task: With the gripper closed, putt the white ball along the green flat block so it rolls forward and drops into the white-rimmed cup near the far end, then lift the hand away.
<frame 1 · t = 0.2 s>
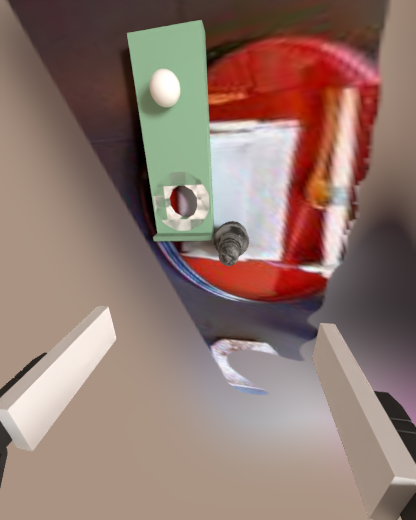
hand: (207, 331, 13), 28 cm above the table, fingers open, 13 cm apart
dark grey figurine: (232, 235, 39), on the table
ball: (165, 88, 28), point 4 cm above the table, touching green flat block
green flat block: (180, 150, 35), on the table
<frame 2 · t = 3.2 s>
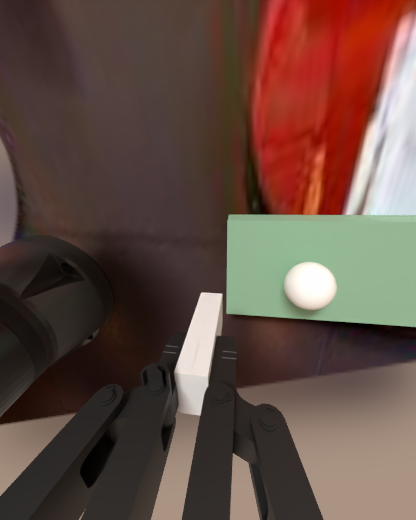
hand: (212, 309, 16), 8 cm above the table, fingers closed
ball: (309, 285, 18), point 4 cm above the table, touching green flat block
green flat block: (371, 266, 21), on the table
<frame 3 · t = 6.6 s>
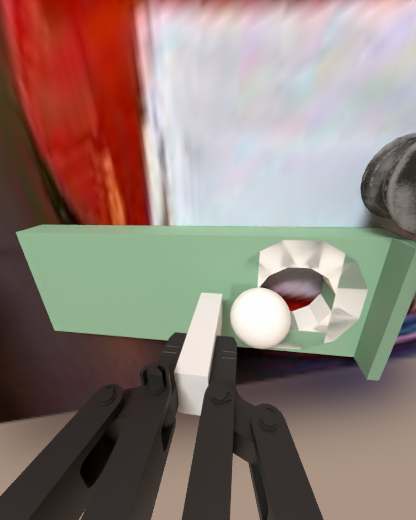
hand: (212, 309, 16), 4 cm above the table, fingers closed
dark grey figurine: (403, 178, 14), on the table
ball: (259, 317, 15), point 4 cm above the table, tilted 8°, touching green flat block
green flat block: (195, 280, 19), on the table
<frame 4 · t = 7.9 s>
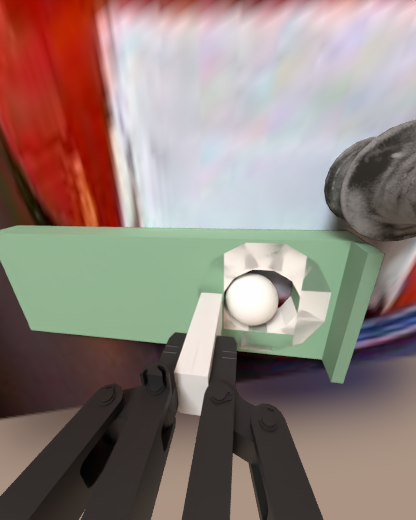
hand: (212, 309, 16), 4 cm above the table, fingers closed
dark grey figurine: (366, 182, 14), on the table
ball: (251, 298, 17), point 2 cm above the table, tilted 73°
green flat block: (168, 281, 20), on the table
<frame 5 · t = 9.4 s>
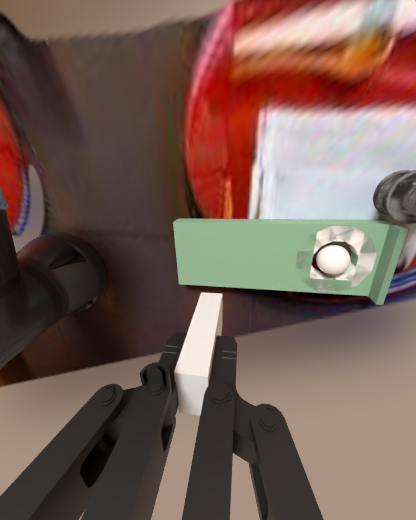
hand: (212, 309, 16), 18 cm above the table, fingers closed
dark grey figurine: (396, 193, 27), on the table
ball: (332, 259, 29), point 2 cm above the table, tilted 90°
green flat block: (270, 252, 32), on the table
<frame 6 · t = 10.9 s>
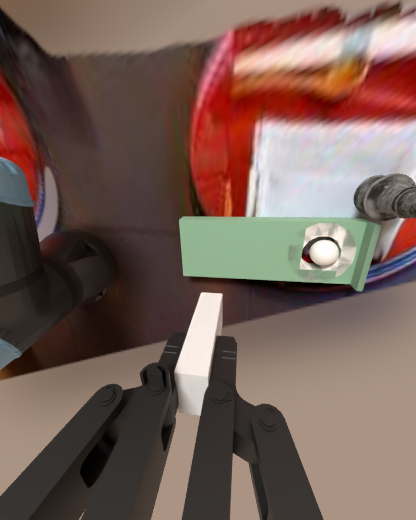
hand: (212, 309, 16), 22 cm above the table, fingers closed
dark grey figurine: (373, 194, 31), on the table
ball: (323, 252, 33), point 2 cm above the table, tilted 107°
green flat block: (265, 246, 36), on the table
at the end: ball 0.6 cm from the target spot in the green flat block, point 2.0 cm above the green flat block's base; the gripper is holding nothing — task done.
